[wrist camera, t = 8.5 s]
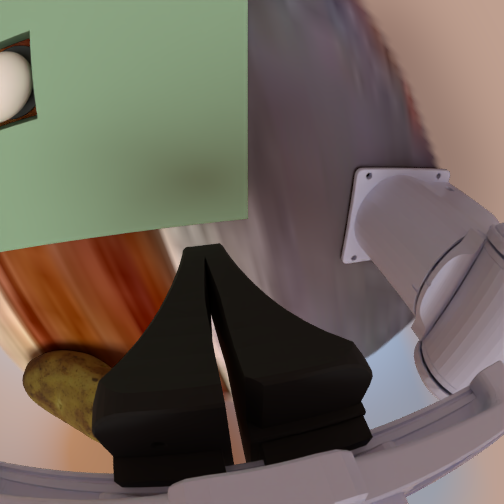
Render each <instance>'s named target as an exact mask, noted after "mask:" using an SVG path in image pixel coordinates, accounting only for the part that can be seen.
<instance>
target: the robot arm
mask: <svg viewBox="0 0 504 504" xmlns="http://www.w3.org/2000/svg"><path fill="white" fill-rule="evenodd" d="M368 173H370V174H369V176H368V177H366V175H367V174H368ZM437 174H438V175H437ZM449 178H450V172H449V171H448V170H447V169H432V168H359V169H358V170H357V171H356V172H355V176H354V184H353V191H352V197H351V204H350V210H349V216H348V222H347V228H346V234H345V240H344V245H343V251H342V256H341V259H342V261H343V262H344V263H346V264H348V263H354V262H361V261H367V260H372V261H373V263H374V264H375V265H376V266H377V268H378V269H379V270H380V271H381V273H382V274H383V275H384V276H385V278H386V279H387V280H388V281H389V283H390V284H391V285H392V286H393V288H394V289H395V290H396V292H397V293H398V294H399V296H400V297H401V298H402V299H403V301H404V302H405V303H406V305H407V306H408V307H409V309H410V310H411V311H412V313H413V314H414V315H415V317H416V319H415V321H414V323H413V325H412V327H411V328H412V330H413V331H414V333H415V334H416V335H417V337H418V338H419V341H418V343H417V345H416V347H415V351H414V359H415V364H416V368H417V370H418V372H419V375H420V377H421V379H422V381H423V383H424V384H425V386H426V387H427V389H428V390H429V391H430V392H431V393H432V394H433V395H434V396H435V397H436V398H437V399H439V400H440V401H438V402H436V403H434V404H432V405H430V406H427V407H425V408H423V409H421V410H418V411H416V412H414V413H412V414H409V415H407V416H405V417H402V418H400V419H398V420H395V421H392V422H390V423H388V424H385V425H382V426H379V427H377V428H374V429H371V430H370V429H369V427H368V425H367V423H366V421H365V419H364V416H363V415H365V413H366V411H365V408H364V406H363V404H362V402H361V400H362V399H363V397H364V395H365V393H366V391H367V389H368V387H369V385H370V383H371V380H372V377H373V376H372V370H371V369H370V367H369V365H368V363H367V361H366V359H365V358H364V356H363V355H362V353H361V352H360V351H359V349H358V348H357V347H356V345H355V344H354V342H352V341H349V340H347V339H344V338H342V337H339V336H336V335H334V334H331V333H329V332H326V331H324V330H322V329H320V328H318V327H316V326H314V325H312V324H310V323H308V322H306V321H304V320H302V319H301V318H299V317H297V316H296V315H294V314H292V313H291V312H289V311H287V310H286V309H284V308H283V307H282V306H280V305H279V304H277V303H276V302H275V301H274V300H272V299H271V298H270V297H268V296H267V295H266V294H265V293H264V292H263V291H261V290H260V289H259V288H258V287H257V286H256V285H255V284H254V283H253V282H252V281H251V280H250V279H249V278H248V277H247V276H246V275H245V274H244V273H243V272H242V271H241V269H240V268H239V267H238V266H237V265H236V264H235V262H234V261H233V260H232V259H231V257H230V256H229V255H228V253H227V252H226V250H225V249H224V247H223V246H222V245H221V244H220V243H219V244H211V245H202V246H194V247H186V248H185V249H184V250H183V254H182V258H181V262H180V265H179V268H178V271H177V273H176V276H175V278H174V281H173V283H172V285H171V288H170V290H169V292H168V294H167V296H166V298H165V300H164V302H163V304H162V305H161V307H160V309H159V311H158V312H157V314H156V316H155V317H154V319H153V320H152V322H151V323H150V325H149V326H148V327H147V329H146V330H145V332H144V333H143V334H142V336H141V337H140V338H139V340H138V341H137V342H136V343H135V344H134V346H133V347H132V348H131V349H130V350H129V351H128V353H127V354H126V355H125V356H124V357H123V358H122V359H121V360H120V361H119V362H118V363H117V364H116V365H115V366H114V367H113V368H112V369H111V370H110V371H109V372H108V373H107V374H106V375H105V376H103V377H102V378H101V379H100V380H99V382H98V385H97V389H96V393H95V398H94V402H93V410H92V433H93V435H94V437H95V438H96V439H97V440H98V441H99V442H100V443H101V444H102V445H103V446H104V447H105V448H106V449H107V450H108V451H109V452H110V453H111V454H112V455H113V466H114V467H113V469H114V474H107V473H84V472H70V471H59V470H51V469H42V468H35V467H28V466H22V465H16V464H11V463H6V462H1V461H0V504H408V502H407V500H406V497H407V496H409V495H411V494H413V493H415V492H417V491H418V490H420V489H422V488H424V487H426V486H428V485H429V484H431V483H433V482H435V481H436V480H438V479H440V478H442V477H443V476H445V475H446V474H448V473H450V472H451V471H453V470H455V469H456V468H458V467H459V466H461V465H462V464H464V463H465V462H467V461H468V460H470V459H471V458H473V457H474V456H476V455H477V454H479V453H480V452H482V451H483V450H484V449H486V448H487V447H488V446H490V445H491V444H493V443H494V442H495V441H497V440H498V439H499V438H500V437H501V436H503V435H504V223H499V221H498V220H497V218H496V217H495V216H494V215H493V214H492V213H490V212H489V211H488V210H487V209H485V208H484V207H483V206H481V205H480V204H479V203H477V202H476V201H474V200H473V199H472V198H470V197H469V196H467V195H466V194H464V193H463V192H462V191H460V190H458V189H457V188H456V187H454V186H453V185H451V184H450V183H448V182H449ZM352 256H354V257H352ZM211 315H212V319H213V323H214V326H215V330H216V333H217V337H218V340H219V343H220V347H221V350H222V354H223V357H224V360H225V364H226V368H227V372H228V377H229V382H230V387H231V392H232V397H233V402H234V407H235V412H236V416H237V421H238V426H239V431H240V436H241V440H242V445H243V450H244V455H245V459H246V463H243V464H237V465H234V462H233V455H232V449H231V441H230V435H229V428H228V421H227V414H226V408H225V402H224V397H223V391H222V386H221V381H220V377H219V372H218V368H217V363H216V358H215V353H214V348H213V342H212V325H211Z"/></svg>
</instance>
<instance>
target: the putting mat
mask: <svg viewBox="0 0 504 504" xmlns="http://www.w3.org/2000/svg"><path fill="white" fill-rule="evenodd" d="M28 38H30V47H28V46H14V47H11V48H8V49H6V50H4V51H3V52H5V51H10V52H15V53H18V54H20V55H22V56H23V57H24V58H25V59H26V60H27V61H28V63H29V64H30V66H31V69H32V77H33V87H32V91H31V94H30V96H29V99H28V100H27V102H26V104H25V105H24V107H23V108H22V109H21V110H20V111H19V112H18V113H17V114H16V115H15V116H13V117H12V118H10V119H16V118H19V117H21V116H23V115H25V114H27V113H28V112H30V111H31V110H32V109H33V108H34V107H35V106H36V110H37V115H35V116H32V117H29V118H25V119H22V120H19V121H16V122H12V123H9V124H6V125H3V126H0V252H3V251H9V250H15V249H21V248H27V247H33V246H39V245H46V244H52V243H59V242H66V241H72V240H79V239H86V238H93V237H100V236H107V235H115V234H122V233H130V232H137V231H145V230H153V229H161V228H169V227H178V226H186V225H195V224H204V223H212V222H222V221H231V220H240V219H248V0H0V49H2V48H5V47H7V46H10V45H12V44H15V43H18V42H20V41H23V40H26V39H28Z"/></svg>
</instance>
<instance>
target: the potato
mask: <svg viewBox="0 0 504 504" xmlns="http://www.w3.org/2000/svg"><path fill="white" fill-rule="evenodd" d="M111 369H112V368H111V367H110V366H108V365H107V364H105V363H104V362H103V361H101V360H99V359H98V358H96V357H94V356H92V355H89V354H86V353H82V352H76V351H67V350H59V351H52V352H48V353H45V354H42V355H40V356H38V357H36V358H34V359H33V360H31V361H30V362H29V363H28V365H27V367H26V369H25V372H24V375H23V386H24V388H25V390H26V392H27V394H28V395H29V397H30V398H31V399H32V400H33V401H34V402H35V403H37V404H38V405H39V406H41V407H42V408H44V409H45V410H46V411H48V412H49V413H51V414H53V415H54V416H56V417H58V418H59V419H61V420H63V421H64V422H65V423H68V424H69V425H71V426H72V427H74V428H75V429H77V430H79V431H81V432H82V433H84V434H85V435H86V436H88V437H90V438H91V439H93V440H95V441H97V442H99V441H98V440H97V439H96V438H95V437H94V435H93V433H92V410H93V402H94V398H95V393H96V389H97V385H98V382H99V380H100V379H101V378H102V377H103V376H105V375H106V374H107V373H108V372H109V371H110V370H111ZM99 443H100V442H99Z"/></svg>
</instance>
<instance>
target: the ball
mask: <svg viewBox="0 0 504 504" xmlns="http://www.w3.org/2000/svg"><path fill="white" fill-rule="evenodd" d="M32 87H33V77H32V69H31V66H30V64H29V63H28V61H27V60H26V59H25V58H24V57H23V56H22V55H20V54H18V53H15V52H10V51H5V52H0V122H3V121H6V120H8V119H10V118H12V117H13V116H15V115H16V114H17V113H18V112H19V111H20V110H21V109H22V108H23V107H24V105H25V104H26V102H27V100H28V99H29V96H30V94H31V91H32Z"/></svg>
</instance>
